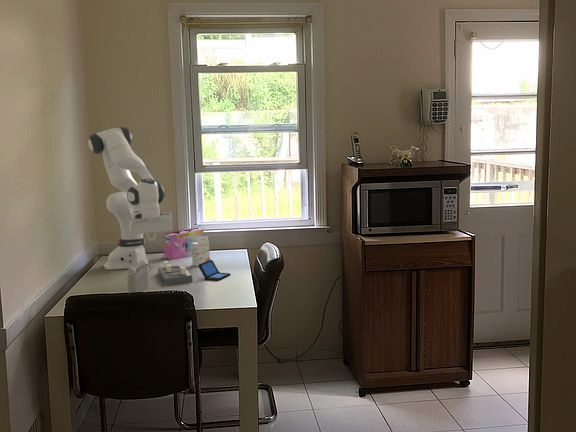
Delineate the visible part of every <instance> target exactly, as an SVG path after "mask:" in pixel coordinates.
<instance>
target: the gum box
mask: <svg viewBox="0 0 576 432" xmlns="http://www.w3.org/2000/svg"><path fill="white" fill-rule="evenodd" d="M204 234H205V232H204V228H202V229H200V228H198V227H194V228H189V229H188V228H187V229H183V230H177V231H170V232H164V233H162V241H163V243H162V244H163V257H164V259H167V258H168V260H177V259H181V258H185V257H192V252H191V243H194V242H197V238H199V237H203V236H205V235H204ZM201 240H204V239H203V238H202V239H201Z"/></svg>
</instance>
